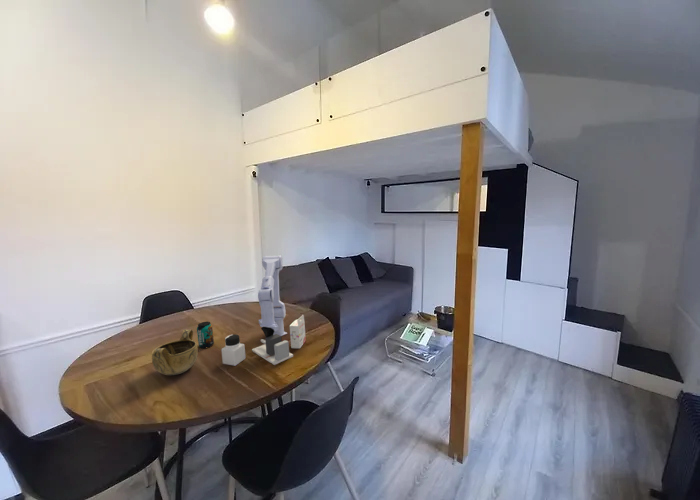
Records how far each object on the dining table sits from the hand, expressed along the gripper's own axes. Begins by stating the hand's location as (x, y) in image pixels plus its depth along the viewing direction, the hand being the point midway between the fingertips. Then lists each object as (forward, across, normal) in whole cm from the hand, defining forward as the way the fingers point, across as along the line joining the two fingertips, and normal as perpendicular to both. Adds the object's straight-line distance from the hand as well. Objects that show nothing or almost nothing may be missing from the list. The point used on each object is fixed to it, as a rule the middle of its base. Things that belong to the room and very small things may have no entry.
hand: (269, 341), depth 136 cm
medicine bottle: (+6, -6, -15) cm, 17 cm away
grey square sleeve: (+4, +4, 0) cm, 6 cm away
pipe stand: (+6, +1, 0) cm, 6 cm away
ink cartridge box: (+6, +3, +14) cm, 16 cm away
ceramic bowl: (+6, -17, -35) cm, 40 cm away
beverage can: (+6, -33, -18) cm, 38 cm away
